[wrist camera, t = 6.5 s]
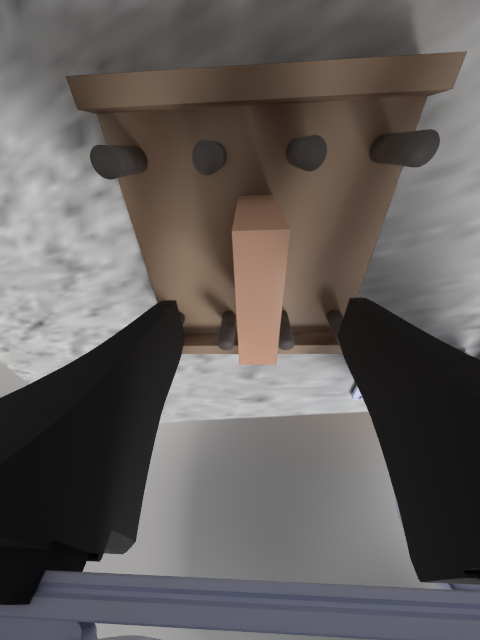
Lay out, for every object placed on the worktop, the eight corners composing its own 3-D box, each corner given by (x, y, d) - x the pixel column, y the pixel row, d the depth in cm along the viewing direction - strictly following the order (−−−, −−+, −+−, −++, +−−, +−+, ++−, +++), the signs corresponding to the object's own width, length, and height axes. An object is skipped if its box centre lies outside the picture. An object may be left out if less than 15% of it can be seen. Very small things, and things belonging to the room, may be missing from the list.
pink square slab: (272, 194, 13) (290, 229, 7) (267, 295, 17) (276, 364, 12) (238, 196, 13) (231, 231, 8) (242, 296, 17) (239, 364, 12)
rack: (422, 68, 11) (513, 27, 7) (337, 332, 21) (356, 370, 17) (100, 87, 11) (30, 58, 8) (173, 333, 22) (158, 370, 18)
